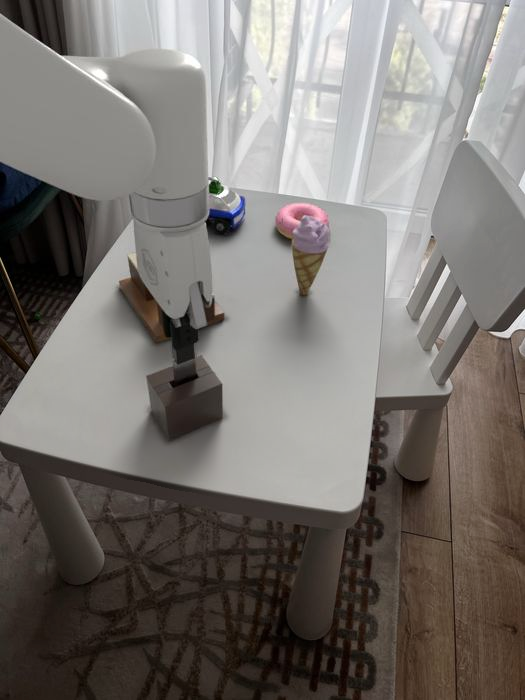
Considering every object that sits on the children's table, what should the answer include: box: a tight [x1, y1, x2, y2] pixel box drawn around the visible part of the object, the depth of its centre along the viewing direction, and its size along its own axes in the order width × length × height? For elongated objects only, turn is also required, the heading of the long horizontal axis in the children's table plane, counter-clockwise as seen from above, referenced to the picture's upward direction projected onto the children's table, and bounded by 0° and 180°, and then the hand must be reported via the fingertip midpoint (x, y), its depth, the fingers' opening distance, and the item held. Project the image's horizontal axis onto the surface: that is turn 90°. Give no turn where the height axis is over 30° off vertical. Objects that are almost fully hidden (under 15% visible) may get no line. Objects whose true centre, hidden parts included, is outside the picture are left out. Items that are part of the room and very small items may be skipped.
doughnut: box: [274, 202, 331, 241], centre depth 108 cm, size 11×11×4 cm
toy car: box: [205, 176, 246, 236], centre depth 107 cm, size 9×12×10 cm
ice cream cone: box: [291, 215, 331, 296], centre depth 89 cm, size 7×6×15 cm
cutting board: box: [118, 276, 225, 344], centre depth 90 cm, size 12×16×2 cm
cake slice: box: [157, 293, 216, 325], centre depth 84 cm, size 8×4×5 cm, turn 121°
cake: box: [126, 252, 155, 301], centre depth 90 cm, size 8×7×5 cm
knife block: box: [145, 354, 224, 442], centre depth 71 cm, size 8×6×7 cm
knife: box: [168, 308, 197, 387], centre depth 67 cm, size 3×2×18 cm, turn 121°
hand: (181, 338), depth 64 cm, fingers closed on knife, 1 cm apart
